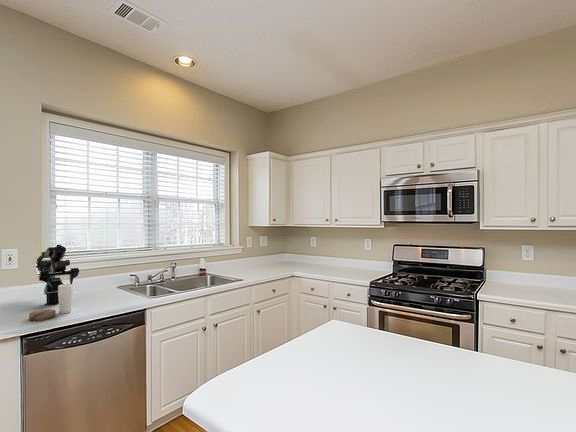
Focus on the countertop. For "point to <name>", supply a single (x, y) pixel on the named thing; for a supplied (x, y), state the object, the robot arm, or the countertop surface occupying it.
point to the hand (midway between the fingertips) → (62, 285)
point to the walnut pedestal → (42, 315)
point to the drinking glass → (65, 298)
